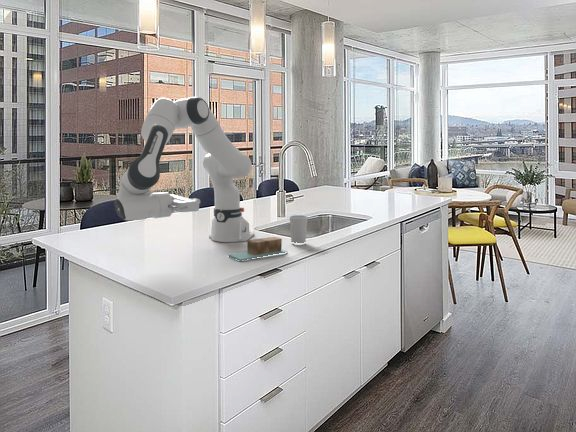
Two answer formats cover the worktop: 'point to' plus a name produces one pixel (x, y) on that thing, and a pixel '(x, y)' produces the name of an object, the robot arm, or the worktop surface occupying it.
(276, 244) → the block
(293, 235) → the cup
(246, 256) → the board
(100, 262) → the worktop surface
